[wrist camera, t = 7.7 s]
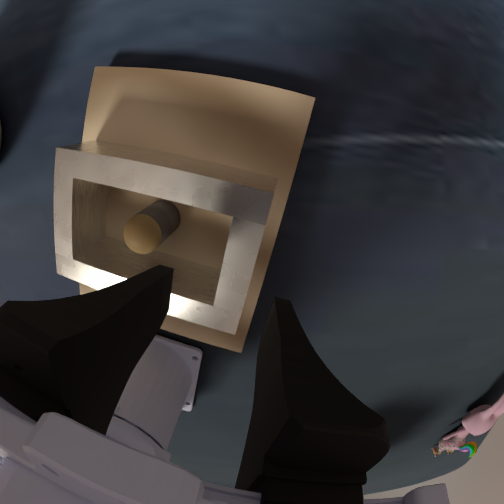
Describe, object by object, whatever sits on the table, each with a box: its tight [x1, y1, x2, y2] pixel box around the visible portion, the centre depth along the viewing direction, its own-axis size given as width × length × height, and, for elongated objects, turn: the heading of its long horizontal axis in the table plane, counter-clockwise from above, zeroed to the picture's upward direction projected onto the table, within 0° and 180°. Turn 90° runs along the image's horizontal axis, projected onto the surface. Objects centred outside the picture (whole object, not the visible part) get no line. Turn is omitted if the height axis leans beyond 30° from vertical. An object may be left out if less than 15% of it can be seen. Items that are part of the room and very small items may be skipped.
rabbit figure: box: [432, 393, 504, 457], centre depth 23 cm, size 6×6×15 cm
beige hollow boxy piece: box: [54, 140, 278, 335], centre depth 16 cm, size 8×12×4 cm, turn 77°
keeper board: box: [79, 67, 315, 353], centre depth 17 cm, size 18×14×6 cm
